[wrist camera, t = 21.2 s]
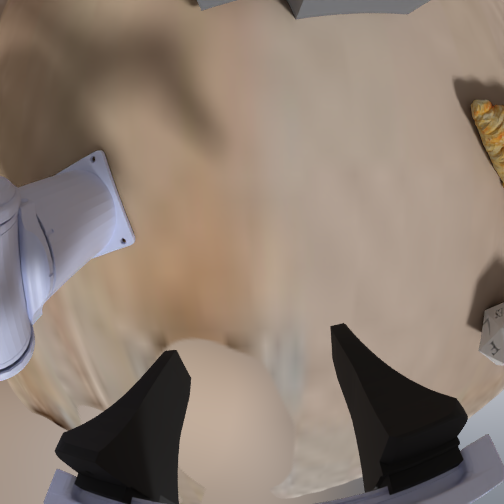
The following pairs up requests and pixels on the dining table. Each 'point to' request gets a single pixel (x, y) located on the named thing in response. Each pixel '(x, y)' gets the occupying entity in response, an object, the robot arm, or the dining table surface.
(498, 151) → the croissant
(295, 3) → the grey stepped block
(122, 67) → the dining table surface
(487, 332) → the die
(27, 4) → the dining table surface
